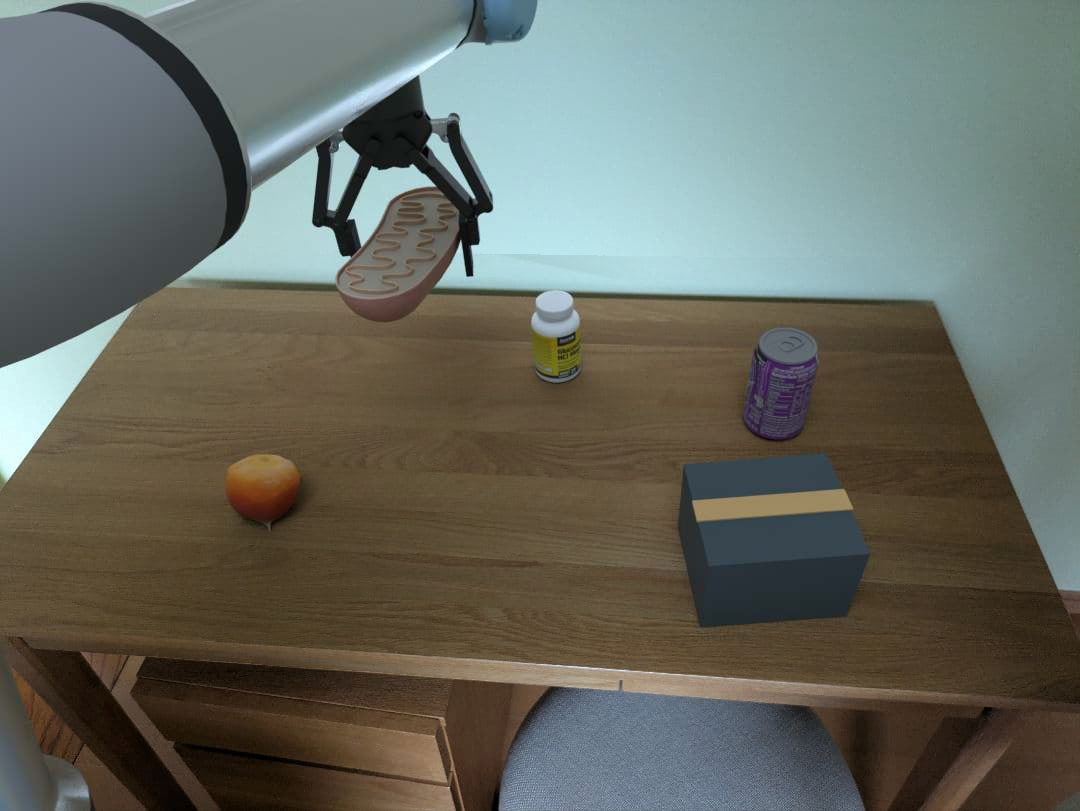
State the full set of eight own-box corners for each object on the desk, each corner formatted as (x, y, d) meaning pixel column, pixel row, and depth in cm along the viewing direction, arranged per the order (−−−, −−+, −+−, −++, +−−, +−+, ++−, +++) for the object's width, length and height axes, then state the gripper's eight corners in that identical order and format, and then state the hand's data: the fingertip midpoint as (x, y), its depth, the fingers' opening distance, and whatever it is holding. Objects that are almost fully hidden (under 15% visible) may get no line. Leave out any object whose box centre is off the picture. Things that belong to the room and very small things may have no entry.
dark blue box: (698, 627, 74) (707, 564, 67) (676, 527, 83) (682, 462, 76) (848, 616, 74) (872, 552, 67) (809, 517, 83) (828, 451, 76)
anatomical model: (409, 222, 94) (401, 184, 90) (488, 227, 92) (483, 187, 88) (332, 336, 77) (319, 294, 74) (426, 345, 75) (418, 302, 72)
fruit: (207, 530, 85) (207, 460, 83) (253, 507, 92) (254, 442, 90) (271, 545, 82) (273, 474, 81) (313, 520, 90) (315, 454, 88)
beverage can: (768, 394, 97) (782, 316, 89) (815, 424, 93) (835, 345, 84) (729, 421, 94) (741, 343, 86) (777, 453, 90) (794, 374, 81)
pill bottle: (563, 390, 100) (559, 321, 92) (525, 373, 103) (518, 305, 95) (590, 364, 103) (589, 296, 96) (553, 348, 106) (549, 281, 99)
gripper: (504, 42, 72) (522, 247, 87) (254, 63, 72) (314, 265, 87) (506, 70, 67) (525, 284, 82) (235, 93, 67) (303, 303, 82)
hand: (416, 274), depth 84 cm, fingers closed on anatomical model, 11 cm apart
